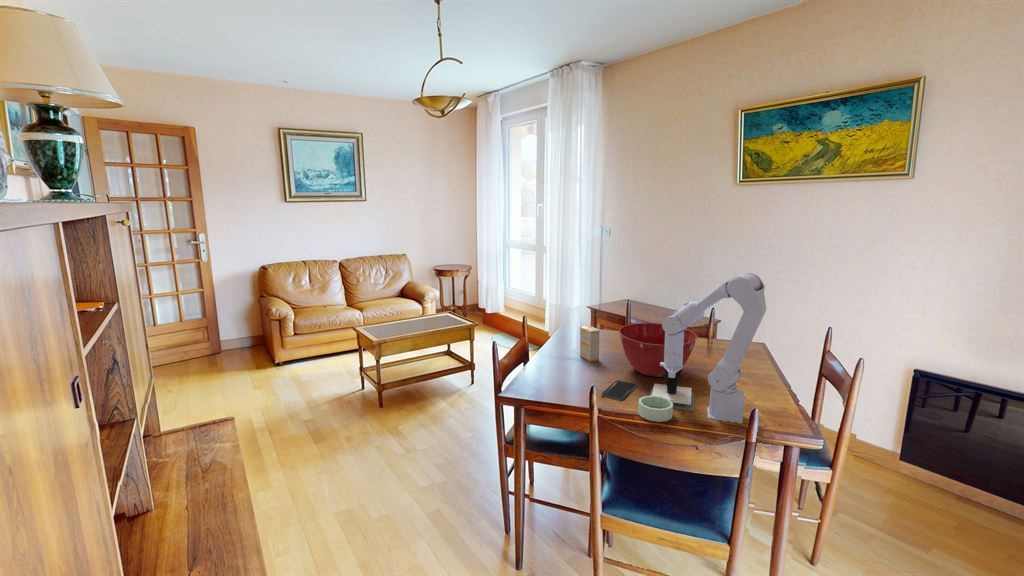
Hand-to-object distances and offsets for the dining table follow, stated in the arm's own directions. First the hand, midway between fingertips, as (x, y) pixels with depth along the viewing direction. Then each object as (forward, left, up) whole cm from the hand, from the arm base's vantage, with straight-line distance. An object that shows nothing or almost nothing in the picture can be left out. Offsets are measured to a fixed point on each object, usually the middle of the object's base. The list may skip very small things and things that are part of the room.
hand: (671, 390), depth 154 cm
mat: (0, 0, -3) cm, 3 cm away
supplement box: (+34, -31, -3) cm, 46 cm away
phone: (+17, -1, -4) cm, 18 cm away
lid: (0, 0, -1) cm, 1 cm away
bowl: (+4, +13, -3) cm, 14 cm away
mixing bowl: (+7, -25, -3) cm, 26 cm away
